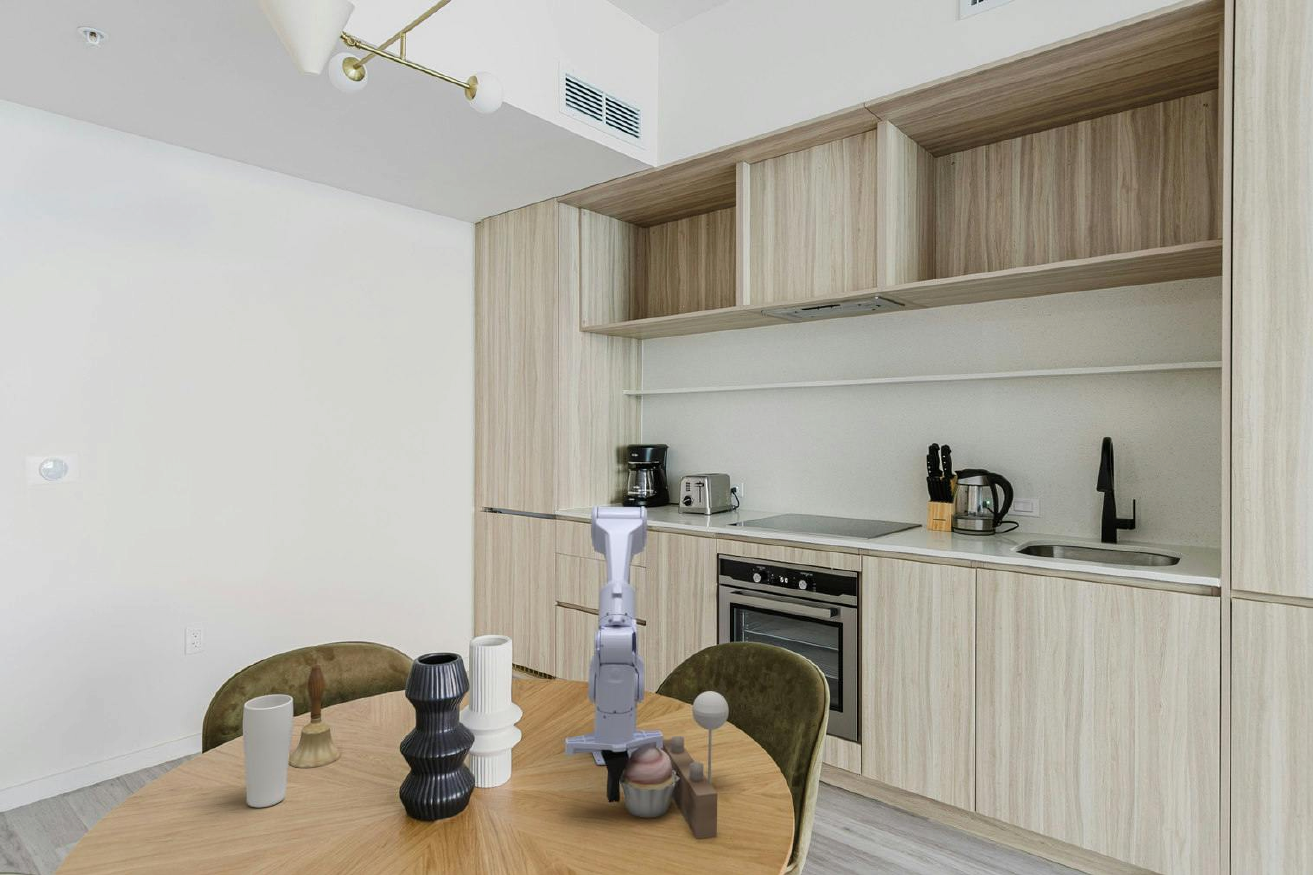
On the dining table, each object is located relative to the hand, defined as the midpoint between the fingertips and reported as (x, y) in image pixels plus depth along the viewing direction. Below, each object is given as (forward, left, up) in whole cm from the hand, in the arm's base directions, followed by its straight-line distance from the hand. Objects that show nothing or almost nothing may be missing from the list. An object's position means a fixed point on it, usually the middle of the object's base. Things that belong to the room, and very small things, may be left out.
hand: (613, 799), depth 109 cm
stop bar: (0, +11, -2) cm, 12 cm away
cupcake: (0, +5, -2) cm, 6 cm away
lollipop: (-5, +17, -2) cm, 18 cm away
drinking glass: (-15, -51, -2) cm, 53 cm away
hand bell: (-30, -47, -2) cm, 56 cm away
